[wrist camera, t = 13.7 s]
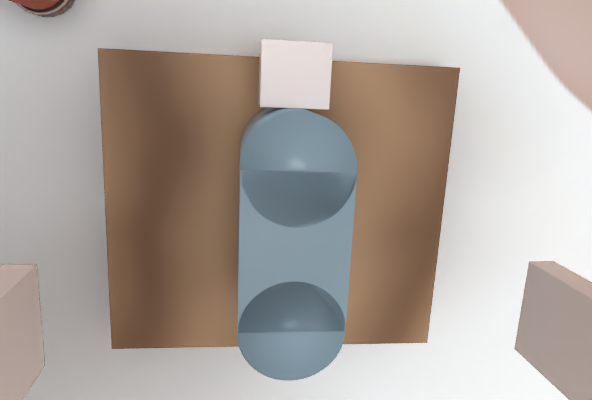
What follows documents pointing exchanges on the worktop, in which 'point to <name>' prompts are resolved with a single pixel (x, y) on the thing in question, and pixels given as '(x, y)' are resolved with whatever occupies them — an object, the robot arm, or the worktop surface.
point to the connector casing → (294, 217)
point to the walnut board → (225, 192)
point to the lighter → (45, 6)
